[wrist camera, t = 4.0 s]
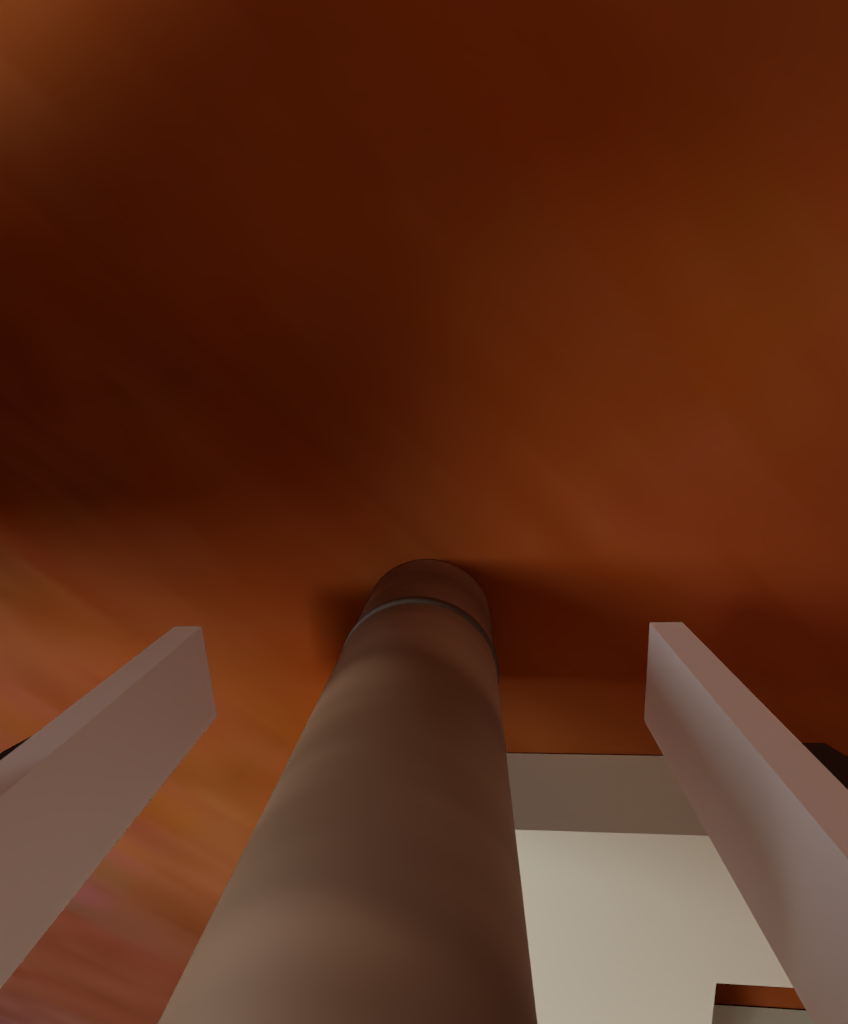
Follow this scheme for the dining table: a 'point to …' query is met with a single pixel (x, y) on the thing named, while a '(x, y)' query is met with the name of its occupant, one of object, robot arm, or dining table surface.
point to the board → (630, 898)
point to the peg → (382, 839)
